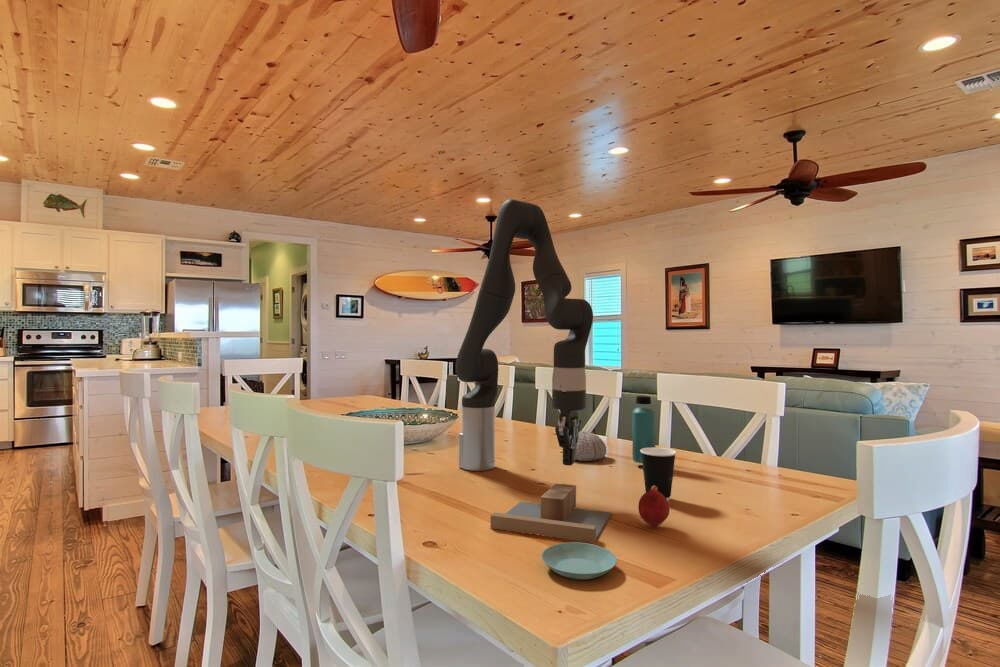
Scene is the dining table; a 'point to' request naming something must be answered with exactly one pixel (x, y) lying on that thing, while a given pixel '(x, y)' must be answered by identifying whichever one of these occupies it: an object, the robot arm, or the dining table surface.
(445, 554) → the dining table surface
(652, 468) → the dixie cup
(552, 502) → the cardboard box
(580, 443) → the sea urchin shell
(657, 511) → the onion
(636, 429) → the beverage bottle
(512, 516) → the grey flat slab
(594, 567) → the saucer
